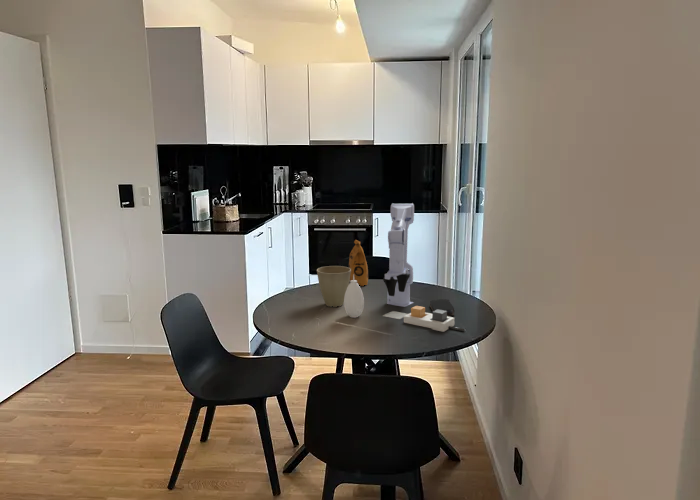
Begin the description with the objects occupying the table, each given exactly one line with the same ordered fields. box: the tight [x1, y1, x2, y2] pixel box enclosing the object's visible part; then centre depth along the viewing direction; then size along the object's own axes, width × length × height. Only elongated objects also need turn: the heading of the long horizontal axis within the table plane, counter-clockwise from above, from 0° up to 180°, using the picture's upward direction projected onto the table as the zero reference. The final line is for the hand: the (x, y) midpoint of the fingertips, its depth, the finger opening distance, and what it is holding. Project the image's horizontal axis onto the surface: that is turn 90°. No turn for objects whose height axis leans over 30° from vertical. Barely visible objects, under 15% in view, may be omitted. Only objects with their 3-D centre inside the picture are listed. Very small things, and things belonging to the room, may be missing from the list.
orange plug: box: [410, 305, 426, 318], centre depth 200 cm, size 4×4×6 cm
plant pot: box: [316, 265, 351, 308], centre depth 225 cm, size 15×15×16 cm
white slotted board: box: [403, 311, 466, 332], centre depth 196 cm, size 23×9×3 cm, turn 53°
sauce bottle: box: [343, 274, 365, 318], centre depth 206 cm, size 8×8×18 cm
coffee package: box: [348, 239, 369, 287], centre depth 262 cm, size 10×12×22 cm
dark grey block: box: [431, 309, 447, 322], centre depth 194 cm, size 4×4×6 cm
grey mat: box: [382, 310, 408, 320], centre depth 209 cm, size 8×8×1 cm
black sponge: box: [429, 298, 455, 317], centre depth 214 cm, size 16×8×4 cm, turn 179°
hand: (396, 293), depth 203 cm, fingers open, 7 cm apart
